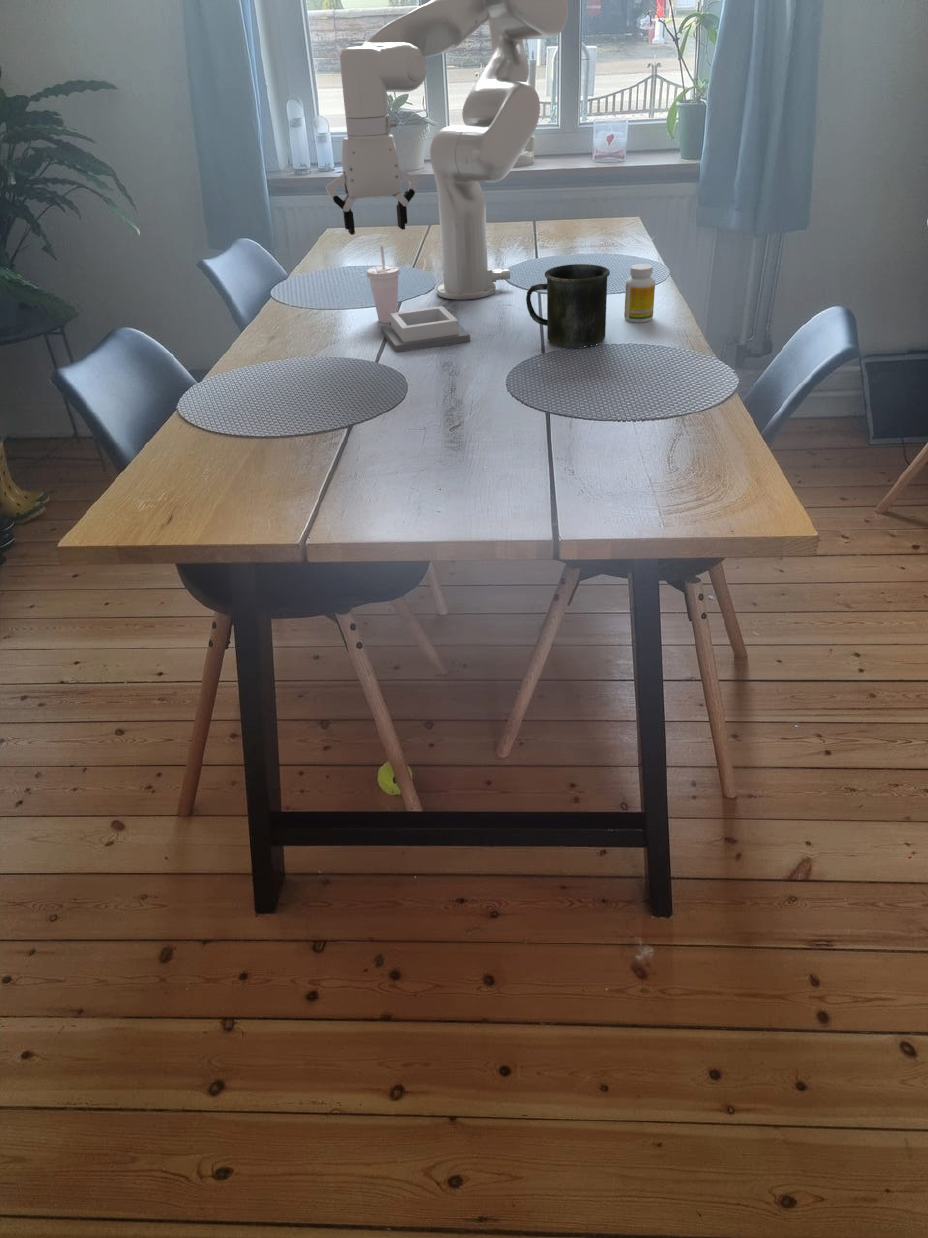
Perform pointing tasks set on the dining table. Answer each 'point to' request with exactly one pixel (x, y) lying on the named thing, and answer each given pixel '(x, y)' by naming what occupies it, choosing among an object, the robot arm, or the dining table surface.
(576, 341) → the mug
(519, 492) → the dining table surface
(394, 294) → the smoothie
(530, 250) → the dining table surface
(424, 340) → the dock
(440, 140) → the robot arm
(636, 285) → the supplement bottle
